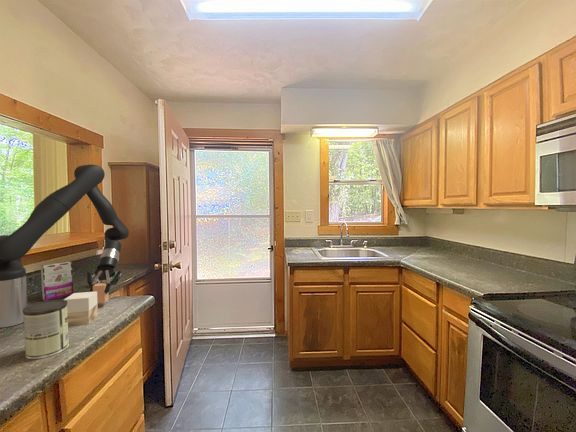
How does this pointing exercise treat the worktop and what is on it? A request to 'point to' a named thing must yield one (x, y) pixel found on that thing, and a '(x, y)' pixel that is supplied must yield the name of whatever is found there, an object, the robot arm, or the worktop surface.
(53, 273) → the candy bar box
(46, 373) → the worktop surface
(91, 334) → the worktop surface
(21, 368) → the worktop surface
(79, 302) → the cream tower block
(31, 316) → the coffee can
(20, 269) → the robot arm
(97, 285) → the peach block
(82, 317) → the oak tower block
